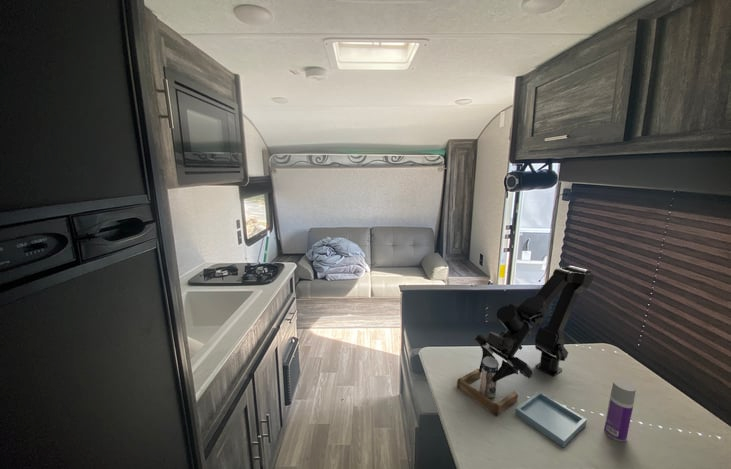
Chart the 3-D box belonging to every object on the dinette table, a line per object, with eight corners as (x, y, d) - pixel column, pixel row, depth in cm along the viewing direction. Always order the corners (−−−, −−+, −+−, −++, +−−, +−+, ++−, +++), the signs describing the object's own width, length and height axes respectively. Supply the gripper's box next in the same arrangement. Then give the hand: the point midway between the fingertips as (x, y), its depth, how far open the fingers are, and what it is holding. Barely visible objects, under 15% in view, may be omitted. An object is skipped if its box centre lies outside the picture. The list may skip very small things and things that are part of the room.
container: (630, 443, 77) (641, 392, 74) (610, 439, 78) (619, 390, 75) (619, 428, 81) (628, 380, 79) (600, 425, 82) (608, 378, 79)
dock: (477, 376, 103) (478, 368, 102) (517, 402, 91) (518, 393, 90) (456, 387, 97) (457, 379, 96) (496, 416, 85) (497, 407, 85)
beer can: (488, 401, 91) (491, 366, 89) (476, 391, 95) (479, 358, 93) (499, 395, 93) (502, 362, 91) (486, 386, 98) (489, 354, 95)
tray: (538, 396, 93) (539, 391, 93) (585, 425, 82) (586, 419, 82) (514, 413, 86) (515, 407, 86) (563, 447, 75) (564, 441, 75)
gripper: (480, 312, 100) (452, 348, 98) (530, 338, 83) (498, 384, 81) (495, 328, 105) (469, 364, 102) (545, 357, 88) (515, 400, 85)
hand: (486, 376), depth 93 cm, fingers closed on beer can, 5 cm apart
